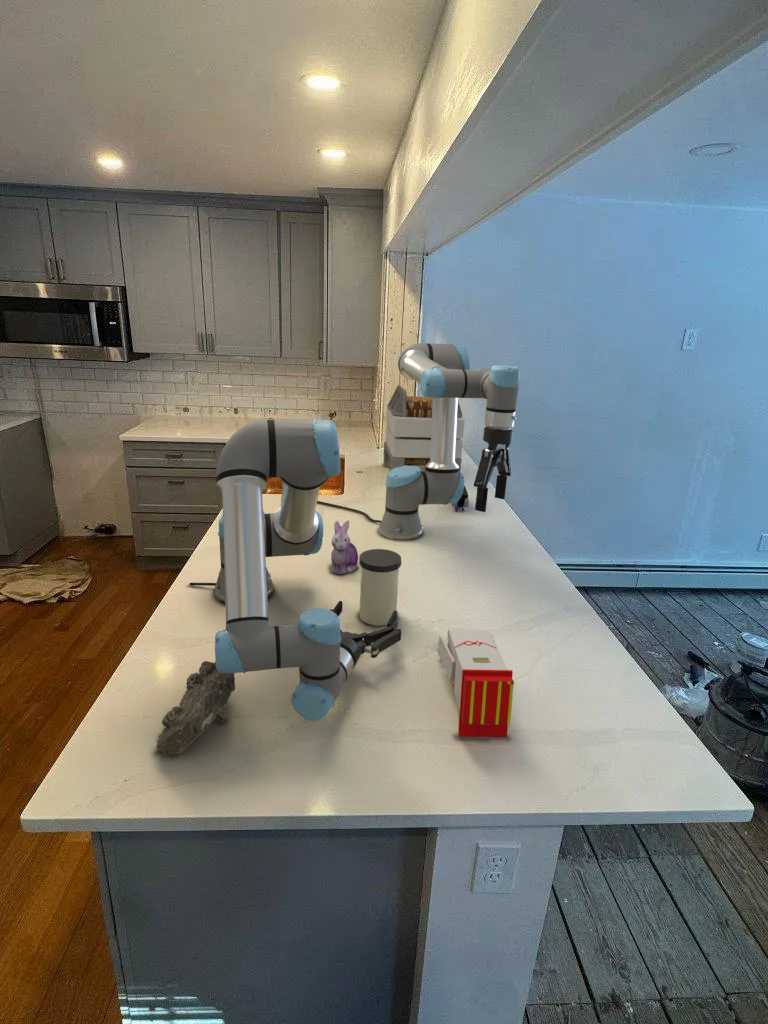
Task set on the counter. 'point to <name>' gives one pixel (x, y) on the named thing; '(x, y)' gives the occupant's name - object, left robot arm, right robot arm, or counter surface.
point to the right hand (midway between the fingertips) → (490, 504)
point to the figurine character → (462, 500)
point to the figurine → (343, 550)
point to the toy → (478, 682)
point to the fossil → (196, 708)
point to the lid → (380, 560)
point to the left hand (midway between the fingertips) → (367, 610)
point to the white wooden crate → (413, 431)
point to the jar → (378, 596)
